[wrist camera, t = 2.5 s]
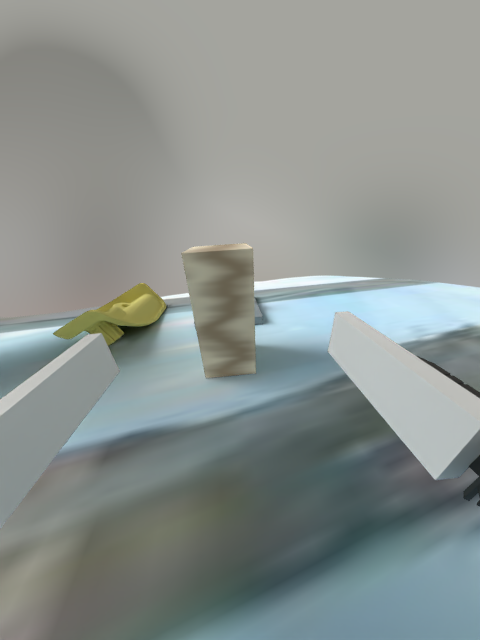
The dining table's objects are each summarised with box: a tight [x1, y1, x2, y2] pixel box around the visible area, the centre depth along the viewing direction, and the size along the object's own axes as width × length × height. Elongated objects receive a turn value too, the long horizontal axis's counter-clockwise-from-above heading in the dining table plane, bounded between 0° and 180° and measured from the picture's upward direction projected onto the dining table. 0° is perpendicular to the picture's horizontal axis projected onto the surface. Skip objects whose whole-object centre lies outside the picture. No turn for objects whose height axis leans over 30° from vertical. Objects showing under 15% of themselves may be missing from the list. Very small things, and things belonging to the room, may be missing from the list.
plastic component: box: [53, 283, 166, 346], centre depth 33 cm, size 20×7×10 cm
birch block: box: [181, 243, 256, 378], centre depth 21 cm, size 6×6×14 cm
